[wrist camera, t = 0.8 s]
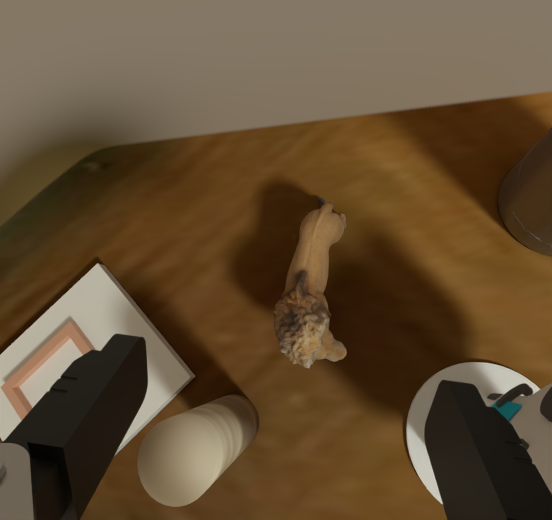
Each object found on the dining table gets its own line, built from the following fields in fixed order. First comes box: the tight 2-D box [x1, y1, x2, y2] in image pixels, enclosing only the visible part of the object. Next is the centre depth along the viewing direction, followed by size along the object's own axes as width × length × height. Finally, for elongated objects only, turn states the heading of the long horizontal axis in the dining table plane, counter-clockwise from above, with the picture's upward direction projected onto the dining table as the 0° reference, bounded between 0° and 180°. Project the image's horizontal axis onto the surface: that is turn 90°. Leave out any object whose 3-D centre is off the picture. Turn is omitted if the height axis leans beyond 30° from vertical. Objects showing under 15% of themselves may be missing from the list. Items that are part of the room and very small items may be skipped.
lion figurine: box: [273, 198, 347, 368], centre depth 30 cm, size 15×5×9 cm, turn 177°
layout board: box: [0, 263, 196, 456], centre depth 34 cm, size 16×14×2 cm
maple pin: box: [138, 394, 259, 507], centre depth 27 cm, size 4×4×12 cm
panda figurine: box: [406, 362, 552, 504], centre depth 22 cm, size 12×11×15 cm
